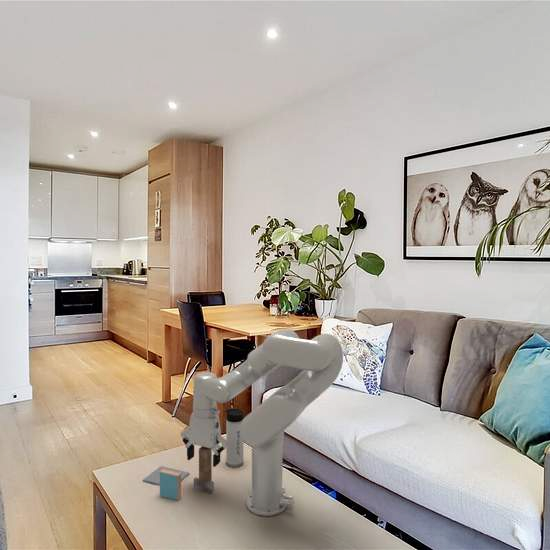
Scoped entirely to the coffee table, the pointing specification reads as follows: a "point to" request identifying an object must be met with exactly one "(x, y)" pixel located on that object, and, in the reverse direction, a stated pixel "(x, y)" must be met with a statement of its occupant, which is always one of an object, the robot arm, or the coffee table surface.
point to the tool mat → (155, 476)
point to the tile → (170, 484)
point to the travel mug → (234, 438)
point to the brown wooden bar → (205, 471)
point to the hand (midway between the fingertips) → (203, 461)
